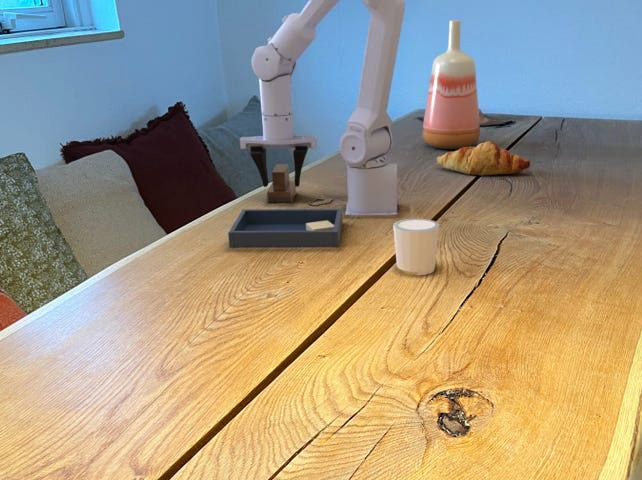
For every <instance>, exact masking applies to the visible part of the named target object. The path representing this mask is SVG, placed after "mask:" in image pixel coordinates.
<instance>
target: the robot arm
mask: <svg viewBox="0 0 642 480" xmlns="http://www.w3.org/2000/svg"><path fill="white" fill-rule="evenodd" d="M339 2H340V0H308V2H306V4H305V6H304V7H303V8H302V10H301V11H300V13H299V12H292V13H290V14H289V15H284V16H283V18H282V19H281V22H282V25H281V26H279V29H277V31H276V33H275V34H274V35H273V36H270V37H269V38H267V44H266V45H260V46H258V47H256V48H255V50H254V52H253V55H252V56H251V68H252V71H253V73H254V74H255V76H256V77H257V78H258V79H259V80H258V81H259V83H258V84H259V94H260V108H261V109H260V111H261V120H262V134H263V135H256V136H241V137H240V139H239V145H240V146H239V147H240V150H247V149H250V151H249V156H250V157H251V159H252V160H253V162H254V164H255V166H256V168H257V171H258V172H259V176H260V178H261V181H262V186H263V188H268V186H269V176H268V168H267V167H268V166H267V149H293V151H292V153H293V154H292V155H293V164H294V181H295V187H296V188H297V187H300V183H301V175H302V169H303V165H304V162H305V159H306V156H307V154H308V151H309V149H315V150H316V149H317V148H318V137H317V136H313V135H312V136H311V135H309V136H308V135H294V122H293V104H292V83H293V81H292V77H293V75H294V73H295V71H296V69H297V61H298V60H299V58H301V57H302V55H303V53H305V51H306V50H307V49H308V48H309V46H310V45H311V44H312V43H313V41H314V40H315V39H316V37H317V30H316V29H317V26H318V25H319V23H320V22H321V21H323V19H324V18H325V17H326V16H327V15H328V14H329V13H330V12H331V10H333V8H334V7H335V6H336V5H337V4H338V3H339ZM361 2H362V3H363V4H364V5H365V7H366V8H367V10H368V11H369V12H370V17H369V18H370V19H369V23H368V32H367V37H366V44H365V49H364V54H363V55H364V57H363V62H362V69H361V75H360V83H359V88H358V93H357V94H358V95H357V101H356V106H355V109H354V110H353V112H352V114H351V115H350V117H349V118H348V120H347V122H346V127H345V131H344V132H343V134H342V135H341V137H340V140H339V142H338V149H339V153H340V156H341V158H342V160H344V161H345V166H346V175H347V176H346V177H347V203H346V207H345V208H346V209H345V213H344V215H347V216H361V215H362V216H364V215H365V216H367V215H369V216H372V215H373V216H374V215H381V216H382V215H383V216H386V215H388V216H389V215H397V214H398V205H399V204H400V195H399V194H398V164H397V163H388V162H387V160H388V159H387V156H388V154H389V153H390V152H391V150H392V148H393V144H394V138H393V135H392V122H393V120H392V118H391V117H390V115H389V114H388V112H387V111H388V107H389V106H388V105H389V100H390V94H391V90H392V82H393V78H394V72H395V66H396V60H397V56H398V49H399V44H400V38H401V32H402V29H403V28H402V27H403V23H404V16H405V10H406V3H405V2H406V1H405V0H361Z"/></svg>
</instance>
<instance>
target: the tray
mask: <svg viewBox="0 0 642 480" xmlns="http://www.w3.org/2000/svg"><path fill="white" fill-rule="evenodd" d="M327 220H328V221H329V222H330V223H332V224H333V225H334V230H333V231H307V230H306V223H311V222H319V221H327ZM343 220H344V219H343V208H272V209H271V208H265V209H263V208H261V209H260V208H257V209H256V208H255V209H253V208H252V209H247V208H245V209H243V208H242V209H241V210H240V212H239V214H238V216H237V217H236V219H235V220H234V222H233V224H232V225H231V227H230V228H229V230H228V232H227V234H228V244H229V245H228V246H229V249H231V248H232V249H234V248H235V249H236V248H238V249H239V248H241V249H243V248H244V249H246V248H248V249H249V248H251V249H252V248H255V249H257V248H260V249H261V248H262V249H264V248H339V247H340V240H341V235H342V229H343V223H344V222H343Z"/></svg>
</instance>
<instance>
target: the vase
mask: <svg viewBox="0 0 642 480" xmlns="http://www.w3.org/2000/svg"><path fill="white" fill-rule="evenodd" d="M448 23H449V24H448V41H447V42H448V43H447V49H446V51H445V52H443V53H441V54H440V55H438V56H436V57H435V58H434V59H433V62H432V65H431V72H430V78H429V84H428V92H427V97H426V104H425V110H424V116H423V117H424V119H423V123H422V139H423V140H424V142H425V143H426V144H427V145H428V146H430V147H432V148H435V149H440V150H459V149H461V148H463V147H473V146H474V145H475V144H477V142H478V141H479V140H480V137H481V126H480V122H479V109H480V108H479V97H478V88H477V86H478V85H477V74H476V73H477V72H476V64H475V60H474V59H473V57H472V56H471V55H469V54H467V53H464V52H463V51H462V48H461V23H462V21H461V20H460V19H450V20H449V21H448ZM478 108H479V109H478Z"/></svg>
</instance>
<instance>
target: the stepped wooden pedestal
mask: <svg viewBox="0 0 642 480" xmlns="http://www.w3.org/2000/svg"><path fill="white" fill-rule="evenodd" d="M271 179H272V181H271V184H270V186H269V188H268V189H267V191H266V196H267V204H269V205H270V204H275V205H276V204H277V205H278V204H288V205H289V204H293V202H294V199H295V197H296V194H297V187H295V180H290V166H289V163H276V164H275V166H274V168H273V170H272V171H271Z"/></svg>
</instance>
